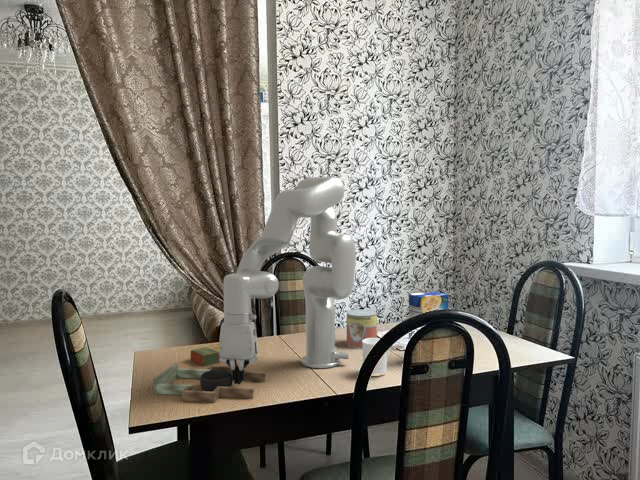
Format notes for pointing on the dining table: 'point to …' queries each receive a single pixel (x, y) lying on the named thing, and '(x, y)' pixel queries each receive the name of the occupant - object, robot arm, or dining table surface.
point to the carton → (206, 355)
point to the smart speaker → (215, 379)
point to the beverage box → (426, 303)
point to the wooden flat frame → (164, 387)
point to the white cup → (367, 346)
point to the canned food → (360, 326)
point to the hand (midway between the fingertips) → (238, 382)
